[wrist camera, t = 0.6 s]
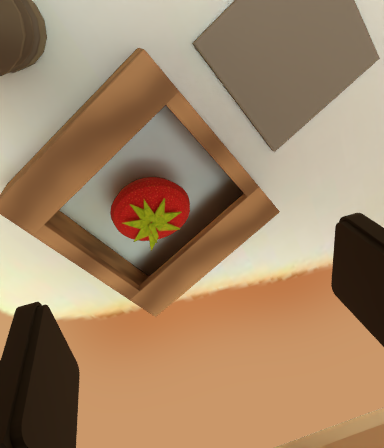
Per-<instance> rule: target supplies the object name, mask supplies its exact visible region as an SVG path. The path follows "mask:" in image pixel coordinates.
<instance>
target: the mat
mask: <svg viewBox="0 0 384 448" xmlns="http://www.w3.org/2000/svg"><path fill="white" fill-rule="evenodd" d="M193 45H194V46H195V47H196V49H197V50H198V51H199V53H200V54H201V55H202V57H203V58H204V59H205V61H206V62H207V63H208V65H209V66H210V68H211V69H212V70H213V72H214V73H215V74H216V76H217V77H218V78H219V80H220V81H221V82H222V84H223V85H224V86H225V88H226V89H227V90H228V92H229V93H230V94H231V96H232V97H233V98H234V100H235V101H236V102H237V104H238V105H239V106H240V108H241V109H242V110H243V112H244V113H245V115H246V116H247V117H248V119H249V120H250V121H251V123H252V124H253V125H254V127H255V128H256V129H257V131H258V132H259V133H260V135H261V136H262V137H263V139H264V140H265V141H266V143H267V144H268V145H269V147H270V148H271V149H272V151H274V152H275V151H276V150H277V149H278V148H279V147H280V146H282V145H283V144H284V143H285V142H286V141H287V140H288V139H290V138H291V137H292V136H293V135H294V134H295V133H296V132H297V131H299V130H300V129H301V128H302V127H303V126H304V125H305V124H306V123H308V122H309V121H310V120H311V119H312V118H313V117H314V116H315V115H317V114H318V113H319V112H320V111H321V110H322V109H323V108H324V107H326V106H327V105H328V104H329V103H330V102H331V101H332V100H333V99H335V98H336V97H337V96H338V95H339V94H340V93H341V92H342V91H344V90H345V89H346V88H347V87H348V86H349V85H350V84H351V83H353V82H354V81H355V80H356V79H357V78H358V77H359V76H360V75H362V74H363V73H364V72H365V71H366V70H367V69H368V68H369V67H371V66H372V65H373V64H374V63H375V62H376V61H377V60H378V59H380V58H379V56H378V54H377V51H376V49H375V47H374V44H373V42H372V40H371V38H370V35H369V33H368V31H367V28H366V26H365V24H364V22H363V19H362V17H361V15H360V13H359V10H358V8H357V6H356V3H355V1H354V0H235V1H234V2H233V3H232V4H231V5H230V6H229V7H228V8H227V9H226V10H225V11H224V12H223V13H222V14H221V15H220V16H219V17H218V18H217V19H216V20H215V21H214V22H213V23H212V24H211V25H210V26H209V27H208V28H207V29H206V30H205V31H204V32H203V33H202V34H201V35H200V36H199V37H198V38H197V39H196V40H195V41H194V42H193Z"/></svg>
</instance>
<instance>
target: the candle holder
mask: <svg viewBox="0 0 384 448" xmlns="http://www.w3.org/2000/svg"><path fill="white" fill-rule="evenodd" d="M46 39H47V35H46V29H45V23H44V19H43V17H42V16H41V14H40V12H39V10H38V8H37V6H36V4H35V3H34V2H33V1H32V0H0V76H2V75H4V74H6V73H13V72H16V71H19V70H21V69H24V68H26V67H28V66H30V65H32V64H34V63H36V61H37V60H38V59H39V57H40V56H41V55H42V54H43V52H44V48H45V44H46Z"/></svg>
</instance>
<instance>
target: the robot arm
mask: <svg viewBox="0 0 384 448" xmlns="http://www.w3.org/2000/svg"><path fill="white" fill-rule="evenodd" d="M332 290H333V292H334V294H335V295H336V296H337V297H338V298H339V299H340V301H341V302H342V303H343V304H344V305H345V306H346V307H347V308H348V309H349V310H350V311H351V312H352V313H353V314H354V316H355V317H356V318H357V319H358V320H359V321H360V322H361V323H362V324H363V325H364V326H365V327H366V328H367V329H368V331H369V332H370V333H371V334H372V335H373V336H374V337H375V338H376V339H377V340H378V341H379V342H380V343H381V344H382V345H383V347H384V228H383V227H381V226H380V225H378V224H377V223H375V222H374V221H372V220H371V219H369V218H368V217H366V216H365V215H363V214H361V213H355V214H351V215H348V216H344V217H342V218H341V219H340V221H339V223H337V224H336V229H335V242H334V256H333V271H332ZM78 392H79V367H78V364H77V362H76V359H75V358H74V356H73V354H72V352H71V350H70V348H69V346H68V344H67V342H66V340H65V338H64V336H63V334H62V332H61V330H60V328H59V326H58V324H57V322H56V320H55V318H54V316H53V314H52V312H51V310H50V308H49V307H48V305H43V306H42V305H41V304H40V303H39V302H35V303H31V304H28V305H24V306H21V307H18V308H17V309H16V311H15V314H14V317H13V321H12V324H11V328H10V331H9V335H8V338H7V341H6V345H5V348H4V351H3V355H2V358H1V360H0V448H76V433H77V413H78ZM275 448H384V408H382V409H379V410H376V411H373V412H371V413H368V414H365V415H362V416H360V417H357V418H354V419H351V420H349V421H346V422H343V423H340V424H338V425H335V426H332V427H329V428H327V429H324V430H321V431H319V432H316V433H313V434H310V435H308V436H305V437H302V438H300V439H297V440H294V441H291V442H289V443H286V444H283V445H280V446H278V447H275Z"/></svg>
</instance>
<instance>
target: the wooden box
mask: <svg viewBox="0 0 384 448" xmlns="http://www.w3.org/2000/svg"><path fill="white" fill-rule="evenodd" d="M165 105H167V107H168V108H169V109H170V110H171V111H172V112H173V113H174V115H175V116H176V117H177V118H178V119H179V120H180V121H181V122H182V124H183V125H184V126H185V127H186V128H187V129H188V130H189V132H190V133H191V134H192V135H193V136H194V137H195V138H196V140H197V141H198V142H199V143H200V144H201V145H202V146H203V147H204V149H205V150H206V151H207V152H208V153H209V154H210V155H211V157H212V158H213V159H214V160H215V161H216V162H217V163H218V164H219V166H220V167H221V168H222V169H223V170H224V171H225V172H226V174H227V175H228V176H229V177H230V178H231V179H232V180H233V181H234V183H235V184H236V185H237V186H238V187H239V188H240V189H241V191H242V192H243V193H244V194H243V195H241V196H240V197H239V198H238V199H237V200H236V201H235V202H233V203H232V204H231V205H230V206H229V207H228V208H227V209H226V210H224V211H223V212H222V213H221V214H220V215H219V216H218V217H216V218H215V219H214V220H213V221H212V222H211V223H210V224H208V225H207V226H206V227H205V228H204V229H203V230H202V231H200V232H199V233H198V234H197V235H196V236H195V237H194V238H193V239H191V240H190V241H189V242H188V243H187V244H186V245H185V246H183V247H182V248H181V249H180V250H179V251H178V252H177V253H175V254H174V255H173V256H172V257H171V258H170V259H169V260H168V261H166V262H165V263H164V264H163V265H162V266H161V267H160V268H158V269H157V270H156V271H155V272H154V273H153V274H152V275H150V276H147V275H146V274H144V273H143V272H142V271H140V270H139V269H138V268H136V267H135V266H134V265H132V264H131V263H130V262H128V261H127V260H125V259H124V258H123V257H121V256H120V255H119V254H117V253H116V252H115V251H113V250H112V249H111V248H109V247H108V246H106V245H105V244H104V243H102V242H101V241H100V240H98V239H97V238H96V237H94V236H93V235H92V234H90V233H89V232H88V231H86V230H85V229H83V228H82V227H81V226H79V225H78V224H77V223H75V222H74V221H73V220H71V219H70V218H69V217H67V216H66V215H64V214H63V213H62V212H60V211H59V209H60V208H61V207H62V206H63V205H64V204H65V203H66V202H67V201H68V200H69V199H70V198H72V197H73V196H74V195H75V194H76V193H77V192H78V191H79V190H80V189H81V188H82V187H83V186H84V185H85V184H86V183H87V182H88V181H89V180H90V179H91V178H92V177H93V176H94V175H95V174H96V173H97V172H98V171H99V170H100V169H101V168H102V167H103V166H104V165H105V164H106V163H107V162H108V161H109V160H110V159H111V158H112V157H113V156H114V155H115V154H116V153H117V152H118V151H119V150H120V149H121V148H122V147H123V146H124V145H125V144H126V143H127V142H128V141H129V140H130V139H131V138H132V137H133V136H134V135H135V134H136V133H137V132H139V131H140V130H141V129H142V128H143V127H144V126H145V125H146V124H147V123H148V122H149V121H150V120H151V119H152V118H153V117H154V116H155V115H156V114H157V113H158V112H159V111H160V110H161V109H162V108H163V107H164V106H165ZM279 212H280V211H279V210H278V209H277V208H276V207H275V205H274V204H273V203H272V202H271V201H270V199H269V198H268V197H267V196H266V195H265V193H264V192H263V191H262V190H261V189H260V187H259V186H258V185H257V184H256V183H255V181H254V180H253V179H252V178H251V177H250V175H249V174H248V173H247V172H246V171H245V170H244V168H243V167H242V166H241V165H240V164H239V162H238V161H237V160H236V159H235V158H234V156H233V155H232V154H231V153H230V152H229V150H228V149H227V148H226V147H225V146H224V144H223V143H222V142H221V141H220V140H219V138H218V137H217V136H216V135H215V134H214V132H213V131H212V130H211V129H210V128H209V126H208V125H207V124H206V123H205V122H204V120H203V119H202V118H201V117H200V116H199V114H198V113H197V112H196V111H195V110H194V108H193V107H192V106H191V105H190V104H189V102H188V101H187V100H186V99H185V98H184V96H183V95H182V94H181V93H180V92H179V90H178V89H177V88H176V87H175V86H174V85H173V83H172V82H171V81H170V80H169V79H168V77H167V76H166V75H165V74H164V73H163V71H162V70H161V69H160V68H159V67H158V65H157V64H156V63H155V62H154V61H153V59H152V58H151V57H150V56H149V55H148V53H147V52H146V51H145V50H144V49H140V48H137V49H136V50H135V51H134V52H133V53H132V55H131V56H130V57H129V58H128V59H127V60H126V61H125V62H124V63H123V64H122V65H121V66H120V67H119V68H118V69H117V70H116V71H115V72H114V73H113V74H112V75H111V76H110V77H109V79H108V80H107V81H106V82H105V83H104V84H103V85H102V86H101V87H100V88H99V89H98V90H97V91H96V92H95V93H94V94H93V95H92V96H91V97H90V98H89V99H88V100H87V101H86V103H85V104H84V105H83V106H82V107H81V108H80V109H79V110H78V111H77V112H76V113H75V114H74V115H73V116H72V117H71V118H70V119H69V120H68V121H67V122H66V123H65V124H64V125H63V126H62V128H61V129H60V130H59V131H58V132H57V133H56V134H55V135H54V136H53V137H52V138H51V139H50V140H49V141H48V142H47V143H46V144H45V145H44V146H43V147H42V148H41V149H40V150H39V152H38V153H37V154H36V155H35V156H34V157H33V158H32V159H31V160H30V161H29V162H28V163H27V164H26V165H25V166H24V167H23V168H22V169H21V170H20V171H19V172H18V173H17V174H16V176H15V177H14V178H13V179H12V180H11V181H10V182H9V183H8V184H7V185H6V187H5V188H4V190H3V191H2V193H1V194H0V214H1V215H2V216H4V217H5V218H7V219H8V220H10V221H11V222H13V223H14V224H16V225H18V226H19V227H21V228H22V229H24V230H25V231H27V232H28V233H30V234H31V235H33V236H34V237H36V238H37V239H39V240H40V241H42V242H43V243H45V244H46V245H48V246H49V247H51V248H52V249H54V250H55V251H57V252H58V253H60V254H61V255H63V256H64V257H66V258H67V259H69V260H70V261H72V262H73V263H75V264H76V265H78V266H79V267H81V268H82V269H84V270H85V271H87V272H88V273H90V274H91V275H93V276H94V277H96V278H97V279H99V280H100V281H102V282H103V283H105V284H107V285H108V286H110V287H111V288H113V289H114V290H116V291H117V292H119V293H120V294H122V295H123V296H125V297H126V298H128V299H129V300H131V301H132V302H134V303H135V304H137V305H138V306H140V307H141V308H143V309H144V310H146V311H147V312H149V313H150V314H152V315H153V316H155V317H156V316H158V315H159V314H160V313H161V312H162V311H164V310H165V309H166V308H167V307H168V306H169V305H171V304H172V303H173V302H174V301H175V300H176V299H178V298H179V297H180V296H181V295H182V294H184V293H185V292H186V291H187V290H188V289H189V288H191V287H192V286H193V285H194V284H195V283H197V282H198V281H199V280H200V279H201V278H202V277H204V276H205V275H206V274H207V273H208V272H210V271H211V270H212V269H213V268H214V267H215V266H217V265H218V264H219V263H220V262H221V261H222V260H224V259H225V258H226V257H227V256H228V255H230V254H231V253H232V252H233V251H234V250H235V249H237V248H238V247H239V246H240V245H241V244H243V243H244V242H245V241H246V240H247V239H248V238H250V237H251V236H252V235H253V234H254V233H256V232H257V231H258V230H259V229H260V228H261V227H263V226H264V225H265V224H266V223H267V222H268V221H270V220H271V219H272V218H273V217H274V216H276V215H277V214H278V213H279Z"/></svg>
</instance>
